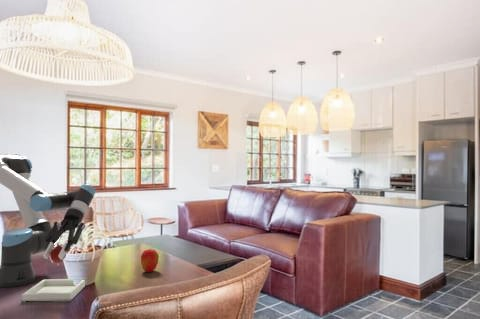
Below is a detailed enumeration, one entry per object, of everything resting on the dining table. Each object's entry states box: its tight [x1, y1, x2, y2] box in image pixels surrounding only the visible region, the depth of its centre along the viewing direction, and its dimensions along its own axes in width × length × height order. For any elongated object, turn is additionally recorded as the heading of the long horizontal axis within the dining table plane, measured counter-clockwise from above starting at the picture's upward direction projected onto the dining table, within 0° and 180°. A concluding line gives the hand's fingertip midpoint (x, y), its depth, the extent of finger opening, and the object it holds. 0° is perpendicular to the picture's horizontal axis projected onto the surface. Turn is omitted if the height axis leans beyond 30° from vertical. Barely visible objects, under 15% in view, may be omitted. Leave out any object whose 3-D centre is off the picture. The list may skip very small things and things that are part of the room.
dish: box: [21, 278, 86, 303], centre depth 139 cm, size 18×18×3 cm
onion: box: [49, 243, 67, 264], centre depth 139 cm, size 6×6×8 cm
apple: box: [140, 249, 160, 273], centre depth 172 cm, size 9×9×12 cm
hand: (52, 257), depth 136 cm, fingers closed on onion, 6 cm apart
